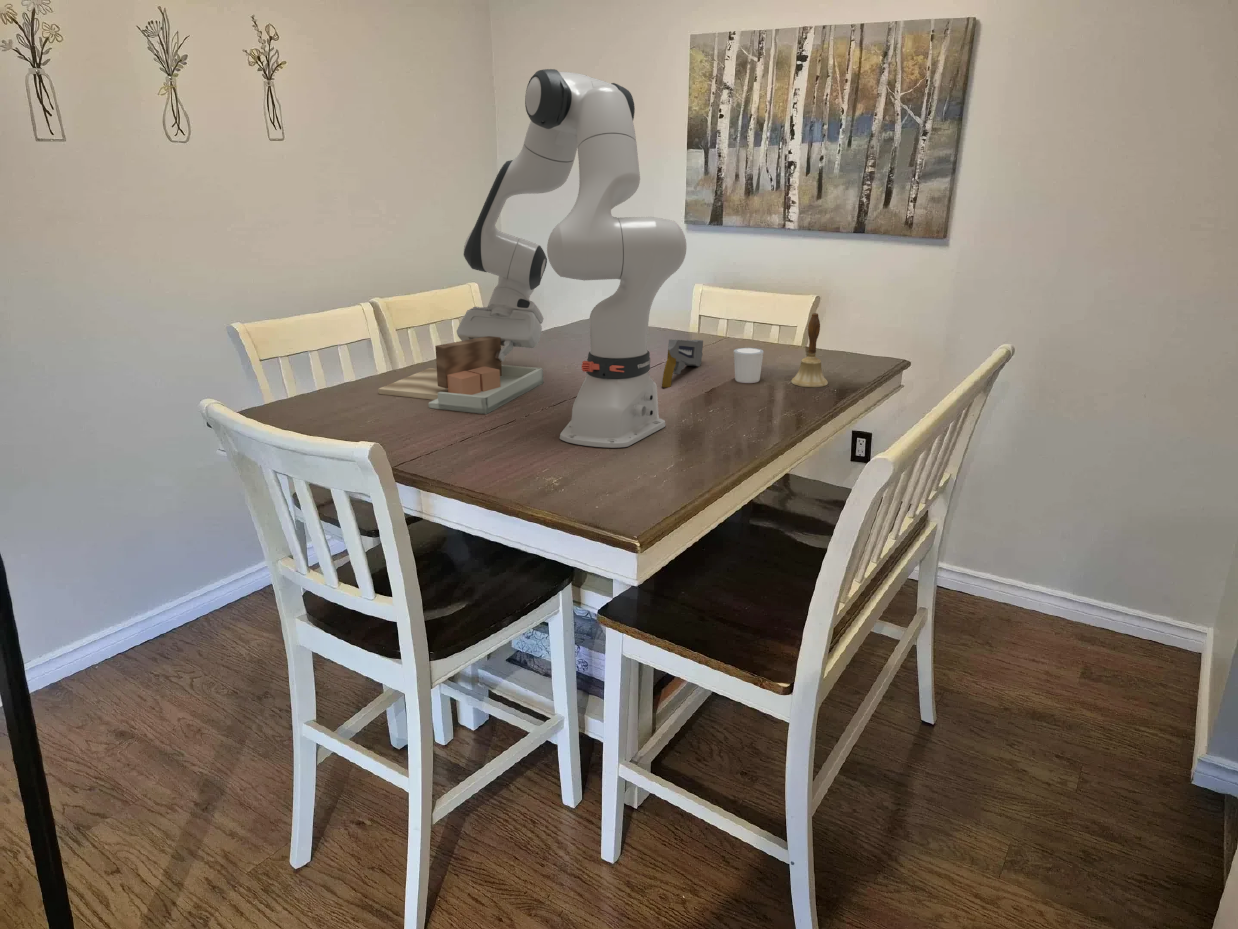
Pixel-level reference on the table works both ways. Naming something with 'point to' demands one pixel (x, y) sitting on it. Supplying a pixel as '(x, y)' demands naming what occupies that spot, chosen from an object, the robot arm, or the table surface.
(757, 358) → the white tapered cylinder
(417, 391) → the board
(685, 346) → the gun
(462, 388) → the terracotta block
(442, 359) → the bar
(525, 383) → the tray
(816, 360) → the hand bell
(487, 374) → the terracotta square block
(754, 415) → the table surface
